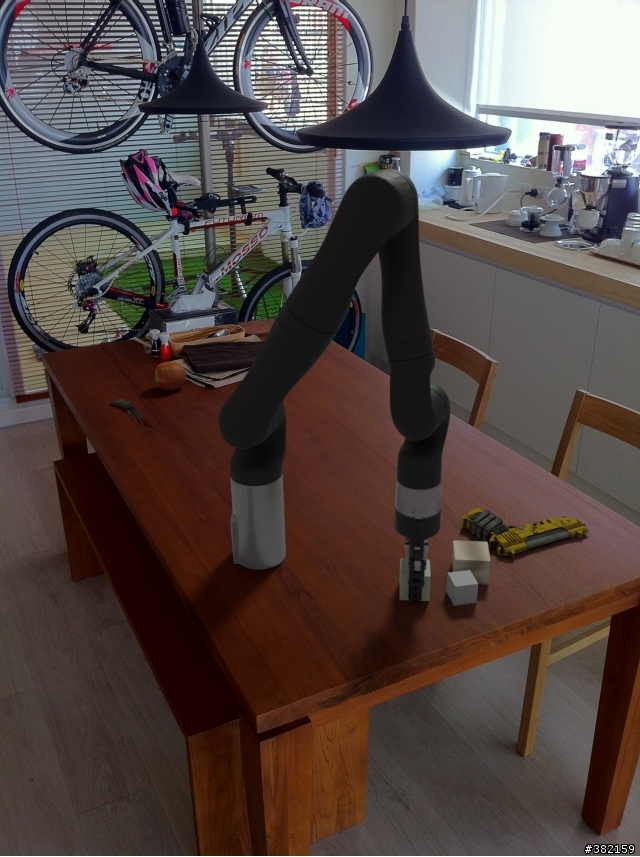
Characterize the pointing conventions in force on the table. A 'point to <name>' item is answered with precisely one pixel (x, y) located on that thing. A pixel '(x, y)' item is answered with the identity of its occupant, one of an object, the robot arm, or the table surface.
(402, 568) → the green cube
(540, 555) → the table surface
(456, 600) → the grey block
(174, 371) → the apple
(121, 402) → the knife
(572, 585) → the table surface
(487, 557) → the maple block
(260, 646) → the table surface
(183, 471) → the table surface
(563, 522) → the toy gun
